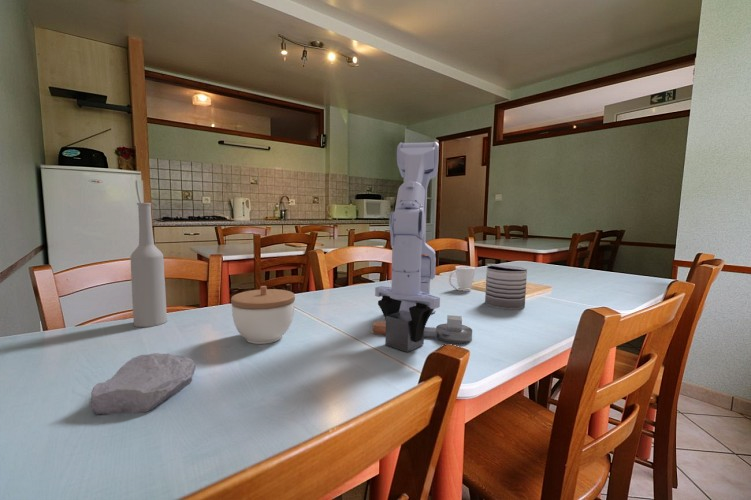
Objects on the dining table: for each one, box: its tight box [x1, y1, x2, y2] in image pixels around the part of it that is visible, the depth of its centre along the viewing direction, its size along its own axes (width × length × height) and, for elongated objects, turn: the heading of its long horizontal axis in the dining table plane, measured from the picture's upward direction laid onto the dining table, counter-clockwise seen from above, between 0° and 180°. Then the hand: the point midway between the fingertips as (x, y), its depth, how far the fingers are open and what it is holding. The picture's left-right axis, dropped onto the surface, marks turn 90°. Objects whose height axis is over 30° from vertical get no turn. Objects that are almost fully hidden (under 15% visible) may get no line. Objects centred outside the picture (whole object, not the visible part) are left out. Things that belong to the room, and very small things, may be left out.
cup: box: [448, 265, 477, 292], centre depth 123 cm, size 7×10×8 cm
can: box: [484, 263, 528, 310], centre depth 104 cm, size 11×11×12 cm
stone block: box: [89, 352, 196, 415], centre depth 51 cm, size 12×5×10 cm
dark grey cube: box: [384, 310, 425, 353], centre depth 70 cm, size 6×6×6 cm
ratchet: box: [372, 314, 473, 345], centre depth 76 cm, size 21×8×4 cm, turn 78°
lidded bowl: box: [230, 285, 296, 345], centre depth 73 cm, size 13×13×11 cm
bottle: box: [129, 202, 168, 328], centre depth 81 cm, size 7×7×28 cm
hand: (404, 336), depth 70 cm, fingers closed on dark grey cube, 5 cm apart
